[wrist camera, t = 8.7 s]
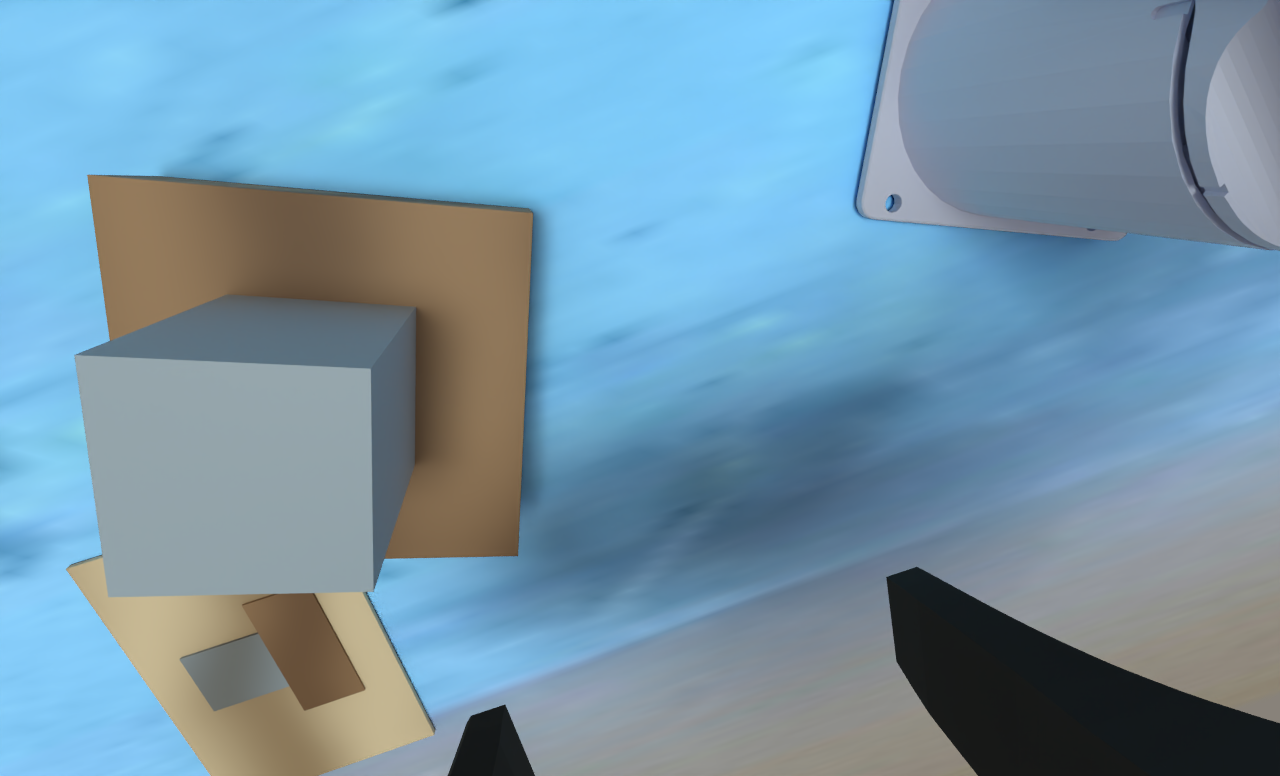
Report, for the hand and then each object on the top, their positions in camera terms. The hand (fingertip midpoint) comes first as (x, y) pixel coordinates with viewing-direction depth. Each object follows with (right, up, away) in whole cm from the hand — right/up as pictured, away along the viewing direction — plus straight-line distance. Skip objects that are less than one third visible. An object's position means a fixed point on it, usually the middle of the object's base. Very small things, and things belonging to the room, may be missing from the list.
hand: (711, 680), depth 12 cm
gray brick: (-9, +5, +4) cm, 11 cm away
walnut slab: (-9, +6, +7) cm, 13 cm away
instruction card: (-13, -3, +9) cm, 16 cm away
